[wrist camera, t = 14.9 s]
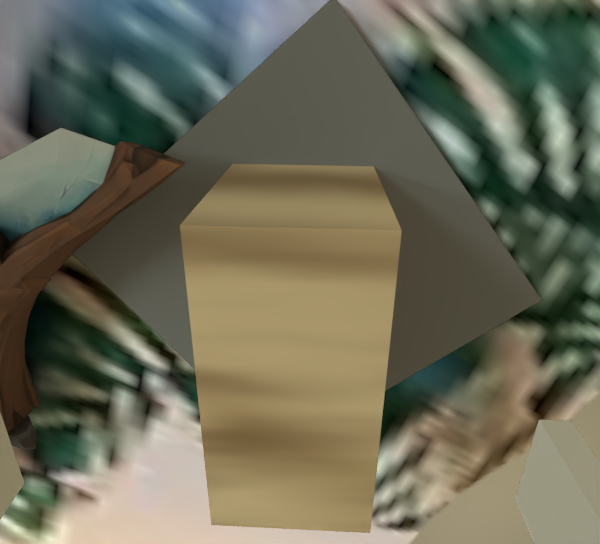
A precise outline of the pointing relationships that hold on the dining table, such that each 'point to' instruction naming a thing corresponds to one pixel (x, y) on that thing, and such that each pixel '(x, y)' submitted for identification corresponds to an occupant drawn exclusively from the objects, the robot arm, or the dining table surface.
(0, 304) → the decorative knife
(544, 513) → the robot arm
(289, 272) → the beech block
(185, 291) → the charcoal mat
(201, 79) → the dining table surface
